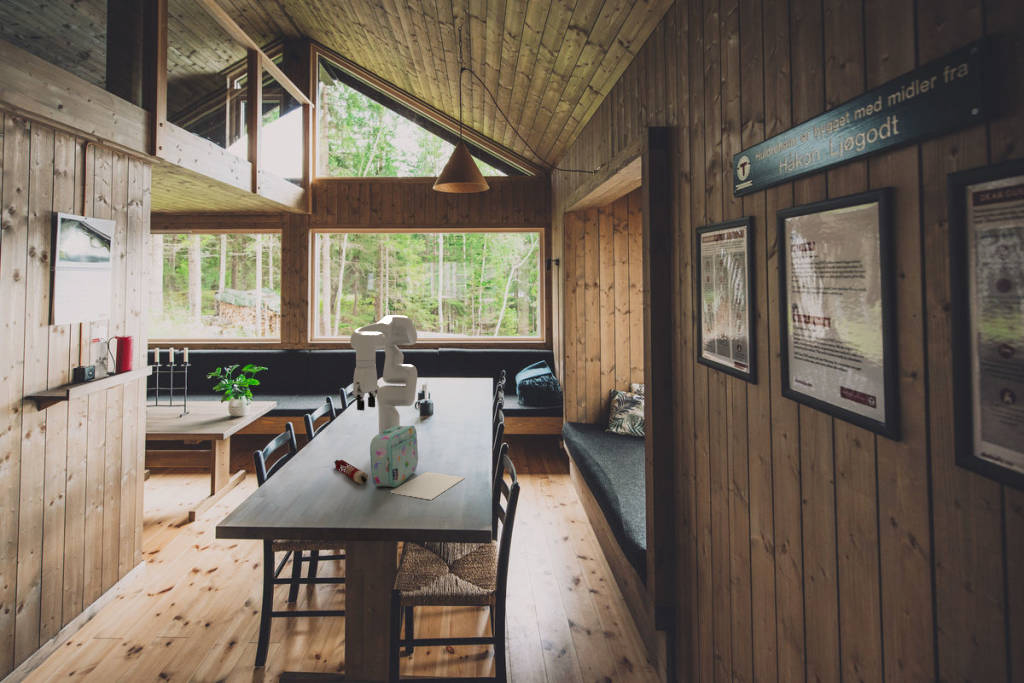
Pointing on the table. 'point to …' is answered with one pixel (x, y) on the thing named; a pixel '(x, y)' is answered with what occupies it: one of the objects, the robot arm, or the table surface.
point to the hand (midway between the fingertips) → (366, 408)
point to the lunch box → (393, 455)
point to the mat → (427, 485)
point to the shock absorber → (352, 472)
